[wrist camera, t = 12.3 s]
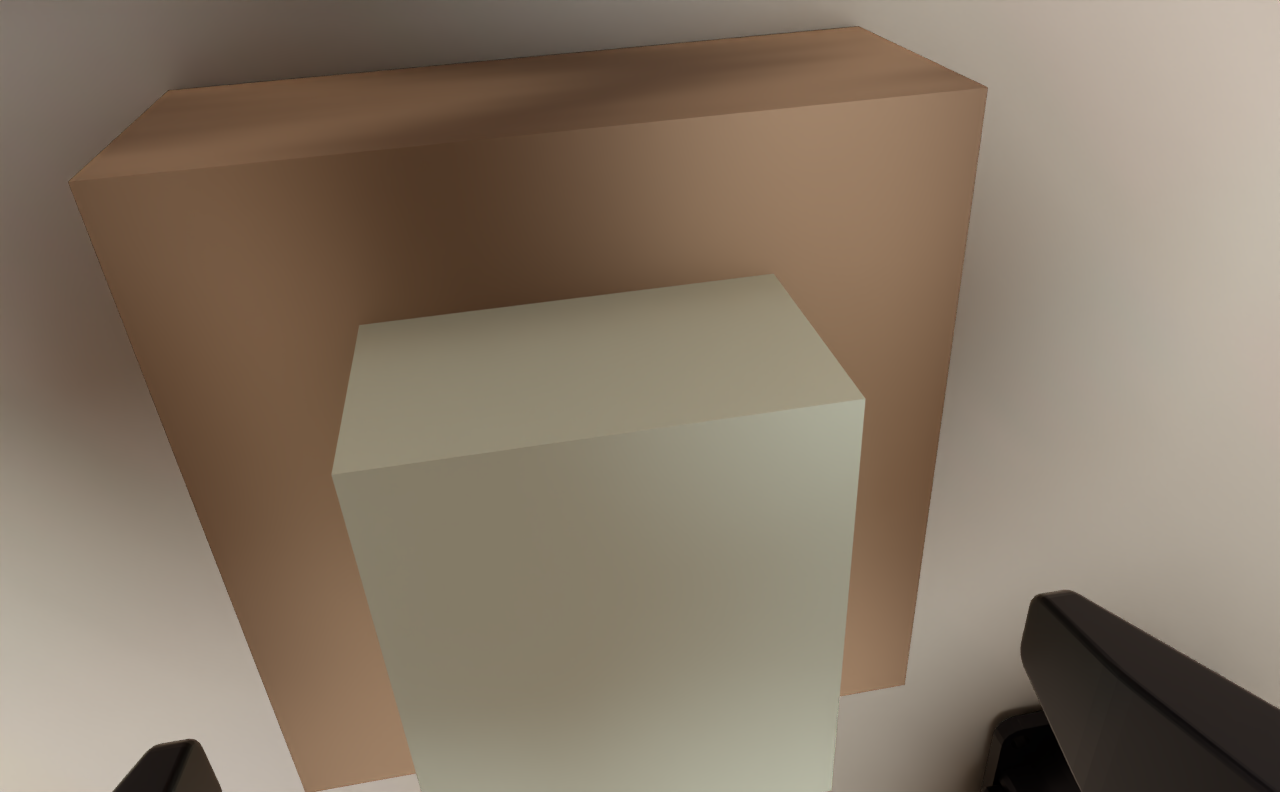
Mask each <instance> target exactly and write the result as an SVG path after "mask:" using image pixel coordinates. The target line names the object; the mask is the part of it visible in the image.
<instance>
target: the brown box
mask: <svg viewBox="0 0 1280 792" xmlns="http://www.w3.org/2000/svg"><path fill="white" fill-rule="evenodd" d="M987 91H988V87H986V86H984V85H982V84H979V83H977V82H975V81H973V80H971V79H969V78H967V77H965V76H963V75H960V74H958V73H956V72H954V71H952V70H950V69H948V68H946V67H944V66H941V65H939V64H937V63H935V62H933V61H931V60H929V59H927V58H925V57H922V56H920V55H918V54H916V53H914V52H912V51H910V50H908V49H906V48H903V47H901V46H899V45H897V44H895V43H893V42H891V41H889V40H887V39H884V38H882V37H880V36H878V35H876V34H874V33H872V32H870V31H868V30H865V29H863V28H861V27H859V26H858V27H848V28H837V29H826V30H815V31H804V32H794V33H783V34H772V35H761V36H750V37H740V38H729V39H718V40H707V41H697V42H686V43H675V44H664V45H653V46H643V47H632V48H621V49H610V50H599V51H589V52H578V53H567V54H556V55H546V56H535V57H524V58H513V59H502V60H492V61H481V62H470V63H459V64H448V65H438V66H427V67H416V68H405V69H395V70H384V71H373V72H362V73H351V74H341V75H330V76H319V77H308V78H298V79H287V80H276V81H265V82H254V83H244V84H233V85H222V86H211V87H200V88H190V89H179V90H168V91H167V92H166V93H165V94H164V95H163V96H162V97H161V98H160V99H158V100H157V101H156V102H155V103H154V104H153V105H152V106H151V107H150V108H149V109H147V110H146V111H145V112H144V113H143V114H142V115H141V116H140V117H139V118H138V119H136V120H135V121H134V122H133V123H132V124H131V125H130V126H129V127H128V128H127V129H125V130H124V131H123V132H122V133H121V134H120V135H119V136H118V137H117V138H116V139H114V140H113V141H112V142H111V143H110V144H109V145H108V146H107V147H106V148H105V149H104V150H102V151H101V152H100V153H99V154H98V155H97V156H96V157H95V158H94V159H93V160H91V161H90V162H89V163H88V164H87V165H86V166H85V167H84V168H83V169H82V170H80V171H79V172H78V173H77V174H76V175H75V176H74V177H73V178H72V179H71V180H69V181H68V183H69V186H70V188H71V191H72V194H73V196H74V199H75V201H76V204H77V206H78V209H79V212H80V214H81V217H82V219H83V222H84V224H85V227H86V230H87V232H88V235H89V237H90V240H91V242H92V245H93V248H94V250H95V253H96V255H97V258H98V260H99V263H100V266H101V268H102V271H103V273H104V276H105V278H106V281H107V284H108V286H109V289H110V291H111V294H112V296H113V299H114V302H115V304H116V307H117V309H118V312H119V314H120V317H121V319H122V322H123V325H124V327H125V330H126V332H127V335H128V337H129V340H130V343H131V345H132V348H133V350H134V353H135V355H136V358H137V361H138V363H139V366H140V368H141V371H142V373H143V376H144V379H145V381H146V384H147V386H148V389H149V391H150V394H151V397H152V399H153V402H154V404H155V407H156V409H157V412H158V415H159V417H160V420H161V422H162V425H163V427H164V430H165V433H166V435H167V438H168V440H169V443H170V445H171V448H172V451H173V453H174V456H175V458H176V461H177V463H178V466H179V469H180V471H181V474H182V476H183V479H184V481H185V484H186V487H187V489H188V492H189V494H190V497H191V499H192V502H193V504H194V507H195V510H196V512H197V515H198V517H199V520H200V522H201V525H202V528H203V530H204V533H205V535H206V538H207V540H208V543H209V546H210V548H211V551H212V553H213V556H214V558H215V561H216V564H217V566H218V569H219V571H220V574H221V576H222V579H223V582H224V584H225V587H226V589H227V592H228V594H229V597H230V600H231V602H232V605H233V607H234V610H235V612H236V615H237V618H238V620H239V623H240V625H241V628H242V630H243V633H244V636H245V638H246V641H247V643H248V646H249V648H250V651H251V654H252V656H253V659H254V661H255V664H256V666H257V669H258V672H259V674H260V677H261V679H262V682H263V684H264V687H265V689H266V692H267V695H268V697H269V700H270V702H271V705H272V707H273V710H274V713H275V715H276V718H277V720H278V723H279V725H280V728H281V731H282V733H283V736H284V738H285V741H286V743H287V746H288V749H289V751H290V754H291V756H292V759H293V761H294V764H295V767H296V769H297V772H298V774H299V777H300V779H301V782H302V785H303V787H304V790H305V792H316V791H321V790H327V789H332V788H338V787H343V786H349V785H354V784H360V783H365V782H371V781H376V780H382V779H388V778H393V777H399V776H404V775H410V774H415V773H416V771H415V767H414V764H413V760H412V757H411V753H410V750H409V746H408V743H407V739H406V736H405V732H404V729H403V725H402V722H401V718H400V715H399V711H398V708H397V704H396V701H395V697H394V693H393V690H392V686H391V683H390V679H389V676H388V672H387V669H386V665H385V662H384V658H383V655H382V651H381V648H380V644H379V641H378V637H377V634H376V630H375V627H374V623H373V620H372V616H371V613H370V609H369V605H368V602H367V598H366V595H365V591H364V588H363V584H362V581H361V577H360V574H359V570H358V567H357V563H356V560H355V556H354V553H353V549H352V546H351V542H350V539H349V535H348V532H347V528H346V525H345V521H344V517H343V514H342V510H341V507H340V503H339V500H338V496H337V493H336V489H335V486H334V482H333V479H332V475H331V474H332V469H333V463H334V458H335V453H336V447H337V442H338V436H339V431H340V426H341V420H342V415H343V410H344V404H345V399H346V393H347V388H348V383H349V377H350V372H351V367H352V361H353V356H354V350H355V345H356V340H357V334H358V329H359V325H364V324H372V323H380V322H388V321H396V320H404V319H412V318H420V317H428V316H436V315H444V314H452V313H460V312H468V311H476V310H485V309H493V308H501V307H509V306H517V305H525V304H533V303H541V302H549V301H557V300H565V299H573V298H581V297H589V296H597V295H605V294H613V293H621V292H629V291H637V290H645V289H654V288H662V287H670V286H678V285H686V284H694V283H702V282H710V281H718V280H726V279H734V278H742V277H750V276H758V275H766V274H774V275H775V276H776V277H777V279H778V280H779V281H780V283H781V284H782V286H783V287H784V288H785V290H786V291H787V292H788V294H789V295H790V296H791V298H792V299H793V301H794V302H795V303H796V305H797V306H798V307H799V309H800V310H801V311H802V313H803V314H804V316H805V317H806V318H807V320H808V321H809V322H810V324H811V325H812V326H813V328H814V329H815V331H816V332H817V333H818V335H819V336H820V337H821V339H822V340H823V341H824V343H825V344H826V346H827V347H828V348H829V350H830V351H831V352H832V354H833V355H834V356H835V358H836V359H837V361H838V362H839V363H840V365H841V366H842V367H843V369H844V370H845V371H846V373H847V374H848V376H849V377H850V378H851V380H852V381H853V382H854V384H855V385H856V386H857V388H858V389H859V391H860V392H861V393H862V395H863V396H864V397H865V410H864V422H863V433H862V445H861V456H860V468H859V479H858V491H857V502H856V514H855V525H854V537H853V548H852V560H851V571H850V583H849V594H848V606H847V617H846V629H845V640H844V652H843V663H842V675H841V686H840V696H845V695H850V694H856V693H861V692H867V691H872V690H878V689H883V688H889V687H894V686H900V685H905V678H906V671H907V664H908V656H909V649H910V642H911V635H912V628H913V621H914V613H915V606H916V599H917V592H918V585H919V578H920V570H921V563H922V556H923V549H924V542H925V535H926V527H927V520H928V513H929V506H930V499H931V492H932V484H933V477H934V470H935V463H936V456H937V449H938V442H939V434H940V427H941V420H942V413H943V406H944V399H945V391H946V384H947V377H948V370H949V363H950V356H951V348H952V341H953V334H954V327H955V320H956V313H957V305H958V298H959V291H960V284H961V277H962V270H963V262H964V255H965V248H966V241H967V234H968V227H969V219H970V212H971V205H972V198H973V191H974V184H975V176H976V169H977V162H978V155H979V148H980V141H981V134H982V126H983V119H984V112H985V105H986V98H987Z"/></svg>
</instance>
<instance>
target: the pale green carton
mask: <svg viewBox="0 0 1280 792" xmlns="http://www.w3.org/2000/svg"><path fill="white" fill-rule="evenodd" d="M864 410H865V397H864V396H863V395H862V393H861V392H860V391H859V389H858V388H857V386H856V385H855V384H854V382H853V381H852V380H851V378H850V377H849V376H848V374H847V373H846V371H845V370H844V369H843V367H842V366H841V365H840V363H839V362H838V361H837V359H836V358H835V356H834V355H833V354H832V352H831V351H830V350H829V348H828V347H827V346H826V344H825V343H824V341H823V340H822V339H821V337H820V336H819V335H818V333H817V332H816V331H815V329H814V328H813V326H812V325H811V324H810V322H809V321H808V320H807V318H806V317H805V316H804V314H803V313H802V311H801V310H800V309H799V307H798V306H797V305H796V303H795V302H794V301H793V299H792V298H791V296H790V295H789V294H788V292H787V291H786V290H785V288H784V287H783V286H782V284H781V283H780V281H779V280H778V279H777V277H776V276H775V275H774V274H766V275H758V276H750V277H742V278H734V279H726V280H718V281H710V282H702V283H694V284H686V285H678V286H670V287H662V288H654V289H645V290H637V291H629V292H621V293H613V294H605V295H597V296H589V297H581V298H573V299H565V300H557V301H549V302H541V303H533V304H525V305H517V306H509V307H501V308H493V309H485V310H476V311H468V312H460V313H452V314H444V315H436V316H428V317H420V318H412V319H404V320H396V321H388V322H380V323H372V324H364V325H359V329H358V334H357V340H356V345H355V350H354V356H353V361H352V367H351V372H350V377H349V383H348V388H347V393H346V399H345V404H344V410H343V415H342V420H341V426H340V431H339V436H338V442H337V447H336V453H335V458H334V463H333V469H332V474H331V475H332V479H333V482H334V486H335V489H336V493H337V496H338V500H339V503H340V507H341V510H342V514H343V517H344V521H345V525H346V528H347V532H348V535H349V539H350V542H351V546H352V549H353V553H354V556H355V560H356V563H357V567H358V570H359V574H360V577H361V581H362V584H363V588H364V591H365V595H366V598H367V602H368V605H369V609H370V613H371V616H372V620H373V623H374V627H375V630H376V634H377V637H378V641H379V644H380V648H381V651H382V655H383V658H384V662H385V665H386V669H387V672H388V676H389V679H390V683H391V686H392V690H393V693H394V697H395V701H396V704H397V708H398V711H399V715H400V718H401V722H402V725H403V729H404V732H405V736H406V739H407V743H408V746H409V750H410V753H411V757H412V760H413V764H414V767H415V771H416V774H417V778H418V781H419V785H420V788H421V792H828V791H831V790H832V779H833V767H834V756H835V744H836V733H837V721H838V709H839V698H840V686H841V675H842V663H843V652H844V640H845V629H846V617H847V606H848V594H849V583H850V571H851V560H852V548H853V537H854V525H855V514H856V502H857V491H858V479H859V468H860V456H861V445H862V433H863V422H864Z"/></svg>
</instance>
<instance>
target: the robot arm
mask: <svg viewBox="0 0 1280 792" xmlns="http://www.w3.org/2000/svg"><path fill="white" fill-rule="evenodd" d="M1020 649H1021V659H1022V662H1023V666H1024V668H1025V671H1026V673H1027V675H1028V677H1029V680H1030V682H1031V684H1032V686H1033V688H1034V690H1035V693H1036V695H1037V697H1038V699H1039V701H1040V704H1041V706H1042V708H1043V710H1044V711H1040V712H1034V713H1029V714H1024V715H1018V716H1014V717H1011V718H1008V719H1006V720H1004V721H1003V722H1001V723H1000V724H999V725H998V726H997V727H996V729H995V731H994V733H993V738H992V742H991V747H990V751H989V756H988V761H987V765H986V770H985V774H984V779H983V783H982V788H981V792H1280V709H1278V708H1277V707H1275V706H1273V705H1271V704H1270V703H1268V702H1266V701H1265V700H1263V699H1261V698H1259V697H1258V696H1256V695H1254V694H1252V693H1251V692H1249V691H1247V690H1245V689H1244V688H1242V687H1240V686H1238V685H1237V684H1235V683H1233V682H1231V681H1230V680H1228V679H1226V678H1224V677H1223V676H1221V675H1219V674H1217V673H1216V672H1214V671H1212V670H1210V669H1209V668H1207V667H1205V666H1204V665H1202V664H1200V663H1198V662H1197V661H1195V660H1193V659H1191V658H1190V657H1188V656H1186V655H1184V654H1183V653H1181V652H1179V651H1177V650H1176V649H1174V648H1172V647H1170V646H1169V645H1167V644H1165V643H1163V642H1162V641H1160V640H1158V639H1156V638H1155V637H1153V636H1151V635H1149V634H1148V633H1146V632H1144V631H1143V630H1141V629H1139V628H1137V627H1136V626H1134V625H1132V624H1130V623H1129V622H1127V621H1125V620H1123V619H1122V618H1120V617H1118V616H1116V615H1115V614H1113V613H1111V612H1109V611H1108V610H1106V609H1104V608H1102V607H1101V606H1099V605H1097V604H1095V603H1094V602H1092V601H1090V600H1088V599H1087V598H1085V597H1083V596H1082V595H1080V594H1078V593H1076V592H1073V591H1070V590H1060V591H1054V592H1049V593H1043V594H1038V595H1036V596H1035V597H1034V598H1033V599H1032V600H1031V602H1030V606H1029V610H1028V614H1027V619H1026V623H1025V628H1024V632H1023V637H1022V641H1021V648H1020ZM113 792H222V790H221V787H220V784H219V782H218V780H217V778H216V776H215V774H214V771H213V769H212V767H211V765H210V763H209V760H208V758H207V756H206V754H205V752H204V750H203V747H202V746H201V744H200V743H199V742H198V741H197V740H195V739H185V740H179V741H173V742H167V743H161V744H158V745H155V746H153V747H152V748H151V749H149V750H148V751H147V752H146V753H145V754H144V755H143V756H142V758H141V759H140V760H139V761H138V762H137V763H136V765H135V766H134V767H133V768H132V769H131V771H130V772H129V773H128V774H127V775H126V776H125V778H124V779H123V780H122V781H121V782H120V783H119V785H118V786H117V787H116V788H115V789H114V790H113Z"/></svg>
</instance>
